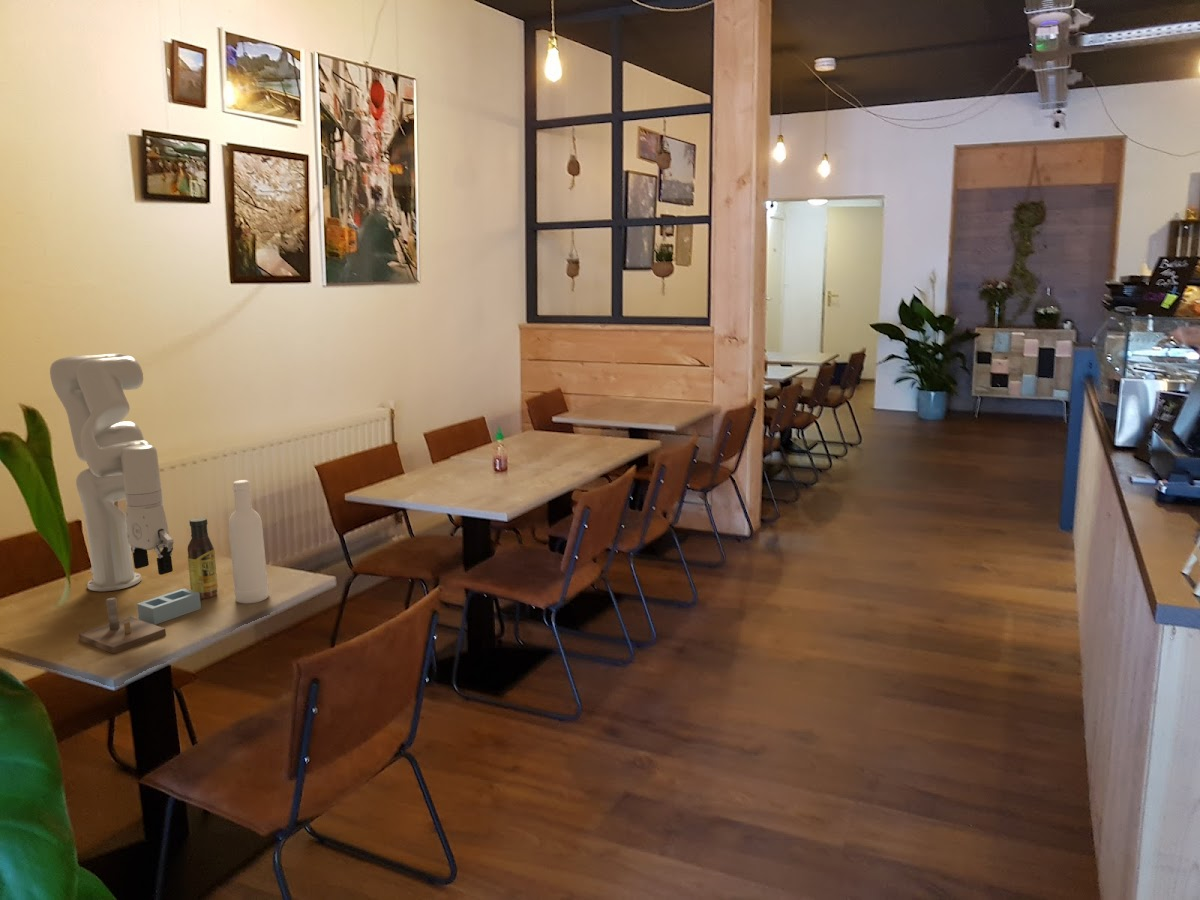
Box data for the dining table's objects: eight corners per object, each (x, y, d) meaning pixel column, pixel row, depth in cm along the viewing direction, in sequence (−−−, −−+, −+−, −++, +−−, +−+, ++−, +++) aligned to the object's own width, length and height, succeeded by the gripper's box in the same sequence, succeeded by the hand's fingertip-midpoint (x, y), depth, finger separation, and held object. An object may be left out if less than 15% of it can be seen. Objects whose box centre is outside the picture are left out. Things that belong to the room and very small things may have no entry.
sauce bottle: (208, 600, 227) (200, 523, 223) (186, 599, 228) (177, 522, 225) (224, 591, 234) (216, 516, 230) (202, 590, 235) (194, 515, 231)
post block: (79, 640, 204) (74, 604, 203) (131, 622, 214) (126, 588, 212) (113, 653, 197) (108, 616, 195) (166, 634, 207) (161, 599, 205)
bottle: (243, 592, 233) (232, 477, 227) (274, 592, 232) (263, 477, 226) (230, 604, 225) (217, 485, 219) (261, 603, 225) (250, 485, 219)
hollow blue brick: (185, 603, 226) (183, 588, 225) (201, 608, 222) (199, 592, 221) (138, 619, 216) (136, 603, 215) (154, 625, 212) (152, 608, 212)
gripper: (108, 498, 212) (117, 569, 215) (150, 506, 203) (159, 580, 206) (139, 491, 218) (147, 560, 221) (181, 499, 209) (190, 570, 212)
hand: (153, 570), depth 214 cm, fingers open, 9 cm apart
